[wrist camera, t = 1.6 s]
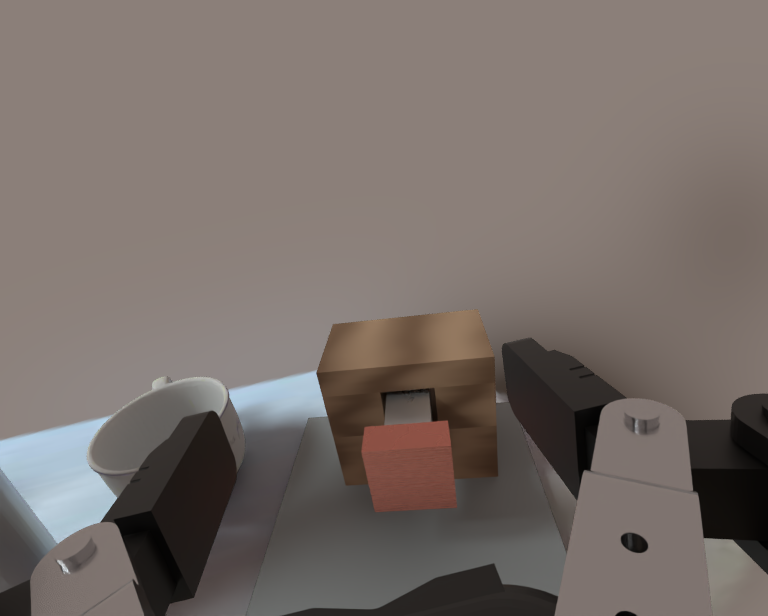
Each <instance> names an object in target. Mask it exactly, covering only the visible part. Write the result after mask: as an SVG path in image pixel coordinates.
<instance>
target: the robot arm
mask: <svg viewBox="0 0 768 616" xmlns="http://www.w3.org/2000/svg"><path fill="white" fill-rule="evenodd" d="M502 355H503V364H504V372H505V379H506V388H507V395H508V399H509V403H510V406H511V408H512V411H513V413H514V415H515V416H516V418H517V419H518V420H519V422H520V423H521V424H522V426H523V427H524V429H525V430H526V431H527V433H528V434H529V435H530V437H531V438H532V440H533V441H534V442H535V444H536V445H537V446H538V448H539V449H540V450H541V452H542V453H543V455H544V456H545V457H546V459H547V460H548V461H549V463H550V464H551V465H552V467H553V468H554V470H555V471H556V472H557V474H558V475H559V476H560V478H561V479H562V480H563V482H564V483H565V485H566V486H567V487H568V489H569V490H570V491H571V493H572V494H573V496H574V497H575V498H576V500H577V505H576V510H575V515H574V520H573V525H572V530H571V535H570V540H569V545H568V550H567V555H566V560H565V565H564V570H563V575H562V581H561V586H560V591H559V596H556V595H553V594H551V593H548V592H546V591H542V590H539V589H535V588H531V587H526V586H520V585H512V584H502V582H501V579H500V576H499V574H498V571H497V569H496V566H495V564H494V563H493V564H489V565H485V566H481V567H476V568H472V569H468V570H464V571H460V572H456V573H452V574H448V575H444V576H440V577H436V578H434V579H432V580H430V581H428V582H426V583H425V584H423V585H421V586H419V587H417V588H415V589H413V590H412V591H410V592H408V593H406V594H404V595H402V596H400V597H398V598H397V599H395V600H393V601H391V602H389V603H387V604H385V605H383V606H381V607H379V608H376V609H340V608H310V609H306V610H302V611H298V612H294V613H290V614H286V615H282V616H713V615H712V607H711V598H710V590H709V581H708V572H707V564H706V555H705V547H704V538H713V539H732V540H734V541H735V542H736V543H737V544H738V545H739V546H740V547H741V548H742V549H743V550H744V551H745V552H746V553H747V554H748V555H749V556H750V557H751V558H752V559H753V560H754V561H755V562H756V563H757V564H758V565H759V566H760V567H761V568H762V569H763V570H764V571H765V572H766V573H767V574H768V394H752V395H747V396H743V397H741V398H738V399H737V400H735V401H734V403H733V404H732V412H731V420H694V421H692V420H685V419H684V418H683V416H682V415H681V414H680V413H679V412H678V411H676V410H675V409H673V408H671V407H670V406H667V405H665V404H663V403H660V402H656V401H652V400H647V399H638V398H630V399H629V398H628V399H627V398H626V397H625V396H623V395H622V394H621V393H620V392H618V391H617V390H616V389H614V388H613V387H612V386H610V385H609V384H608V383H606V382H605V381H604V380H603V379H601V378H600V377H599V376H597V375H594V373H593V372H592V371H591V370H590V369H588V368H587V367H584V365H583V364H582V363H580V362H579V361H578V360H576V359H575V358H574V357H572V356H570V355H567V354H564V353H561V352H558V351H556V350H552V351H547V350H545V349H544V348H543V347H542V346H541V345H539V344H538V343H537V342H536V341H535V340H533V339H532V338H526V339H521V340H517V341H513V342H508V343H504V344H503V346H502ZM236 476H237V466H236V460H235V457H234V454H233V451H232V449H231V446H230V444H229V441H228V438H227V436H226V433H225V431H224V428H223V426H222V423H221V420H220V418H219V416H218V414H217V413H216V412H215V411H213V410H211V411H207V412H203V413H198V414H194V415H190V416H185V417H183V418H182V419H181V421H180V422H179V424H178V425H177V427H176V428H175V430H174V431H173V433H172V434H171V435H170V437H169V438H168V439H166V440H165V441H164V442H163V443H161V444H160V445H159V446H158V447H157V448H156V449H154V450H153V451H152V452H151V453H150V454H149V455H148V456H147V458H146V459H145V461H144V462H143V463H142V465H141V466H140V468H139V471H137V472H136V473H135V475H134V476H133V477H132V479H131V480H130V484H127V486H126V487H125V489H124V490H123V491H122V493H121V494H120V496H119V497H118V498H117V500H116V501H115V503H114V504H113V505H112V507H111V508H110V510H109V511H108V512H107V514H106V515H105V517H104V518H103V519H102V521H101V522H100V523H97V524H94V525H91V526H88V527H86V528H84V529H81V530H79V531H77V532H76V533H74V534H72V535H70V536H69V537H67V538H66V539H64V540H63V541H62V542H60V543H59V544H57V543H56V541H55V540H54V538H53V537H52V535H51V534H50V533H49V532H48V530H47V529H46V528H45V526H44V525H43V524H42V522H41V521H40V520H39V518H38V517H37V516H36V514H35V513H34V512H33V511H32V509H31V508H30V507H29V505H28V504H27V503H26V501H25V500H24V499H23V497H22V496H21V495H20V494H19V492H18V491H17V490H16V488H15V487H14V486H13V484H12V483H11V482H10V480H9V479H8V478H7V477H6V475H5V474H4V473H3V471H2V470H1V469H0V616H165V613H166V611H167V609H168V606H169V604H170V603H174V602H178V601H182V600H186V599H190V598H194V595H195V592H196V590H197V587H198V584H199V581H200V579H201V576H202V573H203V570H204V567H205V565H206V562H207V559H208V556H209V554H210V551H211V548H212V545H213V543H214V540H215V537H216V534H217V531H218V529H219V526H220V523H221V520H222V518H223V515H224V512H225V509H226V507H227V504H228V501H229V498H230V495H231V493H232V490H233V487H234V484H235V481H236Z"/></svg>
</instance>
